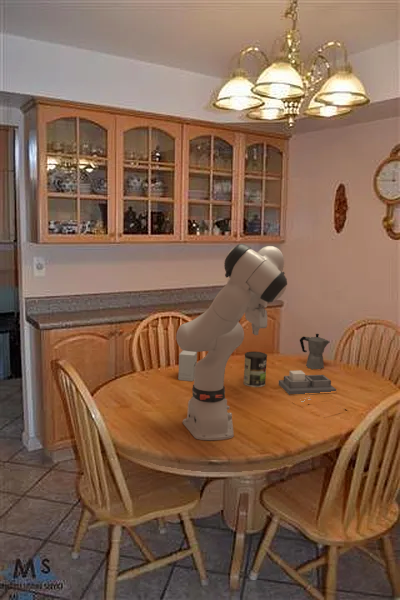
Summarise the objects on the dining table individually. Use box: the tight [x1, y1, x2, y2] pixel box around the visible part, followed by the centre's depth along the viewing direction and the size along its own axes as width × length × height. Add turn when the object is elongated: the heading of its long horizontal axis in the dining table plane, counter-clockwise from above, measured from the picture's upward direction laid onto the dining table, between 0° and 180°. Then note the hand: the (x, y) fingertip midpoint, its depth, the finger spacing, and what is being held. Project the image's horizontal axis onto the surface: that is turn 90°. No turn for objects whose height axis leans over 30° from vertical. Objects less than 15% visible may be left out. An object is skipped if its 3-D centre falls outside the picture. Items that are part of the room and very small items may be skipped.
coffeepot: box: [299, 333, 331, 370], centre depth 258 cm, size 15×9×18 cm, turn 67°
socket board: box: [277, 374, 337, 396], centre depth 226 cm, size 14×22×5 cm, turn 100°
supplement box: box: [177, 350, 198, 382], centre depth 234 cm, size 7×7×13 cm
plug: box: [288, 369, 306, 381], centre depth 225 cm, size 5×6×6 cm
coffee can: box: [243, 351, 268, 388], centre depth 230 cm, size 10×10×14 cm
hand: (255, 334), depth 212 cm, fingers closed
